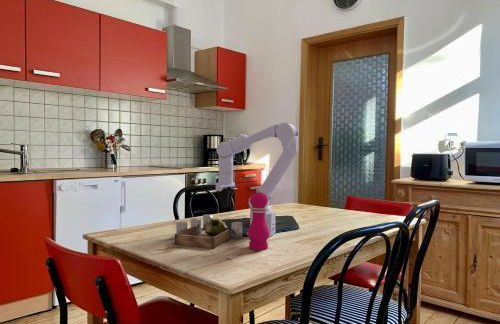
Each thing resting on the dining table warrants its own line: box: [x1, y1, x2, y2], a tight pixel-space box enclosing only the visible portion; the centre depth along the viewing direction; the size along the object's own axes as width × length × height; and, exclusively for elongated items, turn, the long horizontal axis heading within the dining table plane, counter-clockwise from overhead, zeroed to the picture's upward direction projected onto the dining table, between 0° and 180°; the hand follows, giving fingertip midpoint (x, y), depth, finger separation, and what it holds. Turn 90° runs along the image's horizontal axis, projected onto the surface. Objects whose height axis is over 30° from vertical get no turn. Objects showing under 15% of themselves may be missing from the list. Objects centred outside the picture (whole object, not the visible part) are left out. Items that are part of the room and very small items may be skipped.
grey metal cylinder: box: [202, 214, 214, 230], centre depth 155 cm, size 4×4×6 cm
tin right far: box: [175, 221, 188, 234], centre depth 140 cm, size 4×4×6 cm
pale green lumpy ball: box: [204, 217, 228, 236], centre depth 143 cm, size 9×9×8 cm
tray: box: [174, 226, 231, 250], centre depth 134 cm, size 15×14×4 cm
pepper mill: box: [247, 187, 270, 251], centre depth 127 cm, size 7×7×20 cm
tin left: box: [231, 221, 244, 240], centre depth 140 cm, size 4×4×6 cm
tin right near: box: [190, 217, 202, 235], centre depth 147 cm, size 4×4×6 cm
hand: (225, 207), depth 151 cm, fingers closed
